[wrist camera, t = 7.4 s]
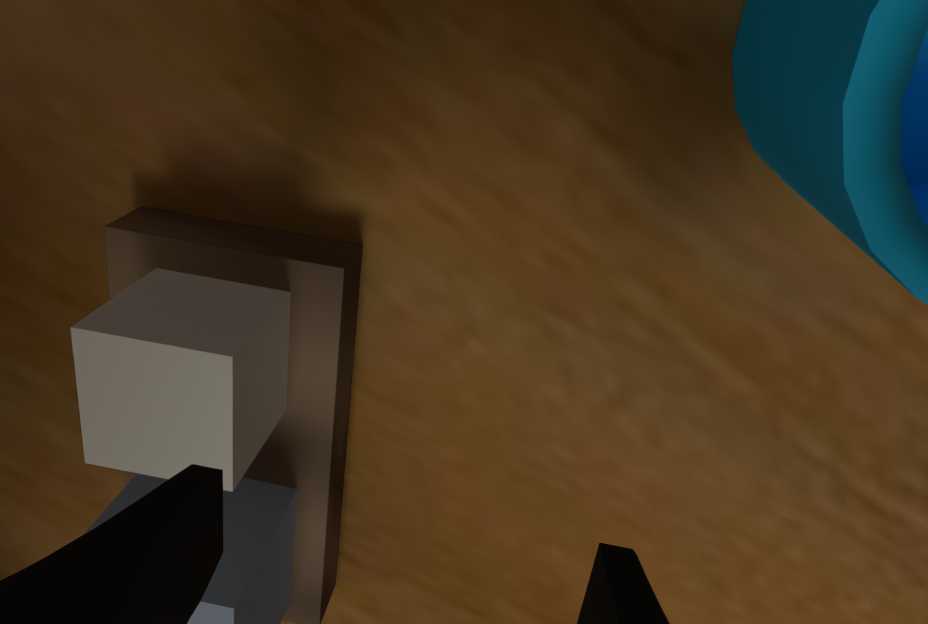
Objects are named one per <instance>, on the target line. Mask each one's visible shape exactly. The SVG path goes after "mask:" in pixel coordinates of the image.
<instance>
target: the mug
mask: <svg viewBox="0 0 928 624" xmlns="http://www.w3.org/2000/svg"><path fill="white" fill-rule="evenodd" d="M732 68H733V82H734V95H735V108H736V110H737V113H738V115H739V117H740V119H741V122H742V124H743V126H744V129H745V131H746V133H747V135H748V138H749V140H750V142H751V145H752V147H753V149H754V151H755V152H756V153H757V154H758V155H759V156H760V157H761V158H762V159H763V160H764V161H765V162H766V163H767V164H768V165H769V166H770V167H771V168H772V169H773V170H774V171H775V172H776V173H777V174H778V175H779V176H780V177H781V179H782V180H783V181H784V182H785V183H787V184H788V185H789V186H790V187H791V188H792V189H793V190H794V191H796V192H797V193H798V194H799V195H800V196H801V197H802V198H804V199H805V200H806V201H807V202H808V203H809V204H810V205H812V206H813V207H814V208H815V209H816V210H817V211H818V212H820V213H821V214H822V215H823V216H824V217H825V218H826V219H827V220H829V221H830V222H831V223H832V224H833V225H834V226H835V227H837V228H838V229H839V230H840V231H841V232H842V233H843V234H845V235H846V236H847V237H848V238H849V239H850V240H851V241H852V242H854V243H855V244H856V245H857V246H858V247H859V248H860V249H862V250H863V251H864V252H865V253H866V254H867V255H868V256H870V257H871V258H872V259H873V260H874V261H875V262H876V263H877V264H879V265H880V266H881V267H882V268H883V269H884V270H885V271H887V272H888V273H889V274H890V275H891V276H892V277H893V278H895V279H896V280H897V281H898V282H899V283H900V284H901V285H902V286H904V287H905V288H906V289H907V290H908V291H909V292H910V293H912V294H913V295H914V296H915V297H916V298H917V299H918V300H920V301H923V302H925V303H927V304H928V0H746V2H745V4H744V8H743V13H742V17H741V21H740V25H739V29H738V34H737V38H736V42H735V46H734V50H733V55H732Z"/></svg>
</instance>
